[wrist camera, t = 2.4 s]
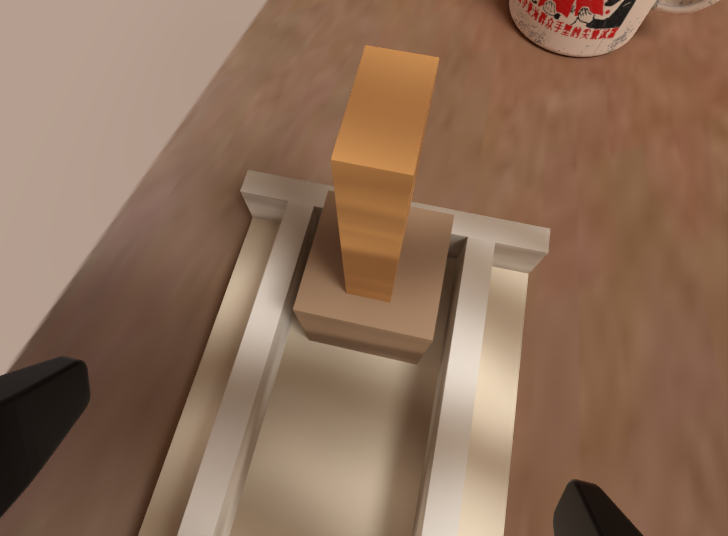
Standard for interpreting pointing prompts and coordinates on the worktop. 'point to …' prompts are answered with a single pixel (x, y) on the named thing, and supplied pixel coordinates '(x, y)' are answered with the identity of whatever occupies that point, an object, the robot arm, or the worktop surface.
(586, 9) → the teacup with lid
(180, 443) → the lane tray
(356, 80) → the tan wooden block
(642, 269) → the worktop surface
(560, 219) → the worktop surface
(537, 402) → the worktop surface
